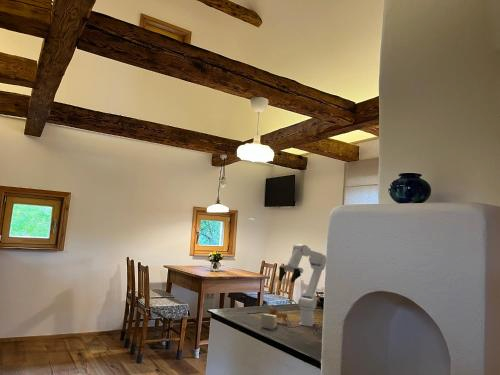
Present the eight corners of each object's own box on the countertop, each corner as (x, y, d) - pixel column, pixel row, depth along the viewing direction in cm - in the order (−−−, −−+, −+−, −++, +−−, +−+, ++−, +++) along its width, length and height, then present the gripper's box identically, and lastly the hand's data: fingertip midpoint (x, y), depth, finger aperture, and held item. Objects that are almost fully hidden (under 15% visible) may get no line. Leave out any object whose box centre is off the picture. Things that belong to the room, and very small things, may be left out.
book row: (265, 324, 221) (265, 312, 221) (276, 326, 218) (276, 313, 219) (260, 327, 214) (261, 314, 215) (272, 329, 211) (273, 316, 212)
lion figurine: (266, 322, 225) (266, 307, 226) (268, 320, 230) (268, 305, 231) (290, 325, 221) (290, 310, 221) (291, 323, 226) (292, 308, 227)
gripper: (281, 255, 217) (271, 274, 209) (303, 258, 209) (294, 278, 200) (285, 263, 221) (276, 282, 213) (307, 266, 213) (299, 286, 204)
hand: (285, 281), depth 207 cm, fingers open, 7 cm apart
